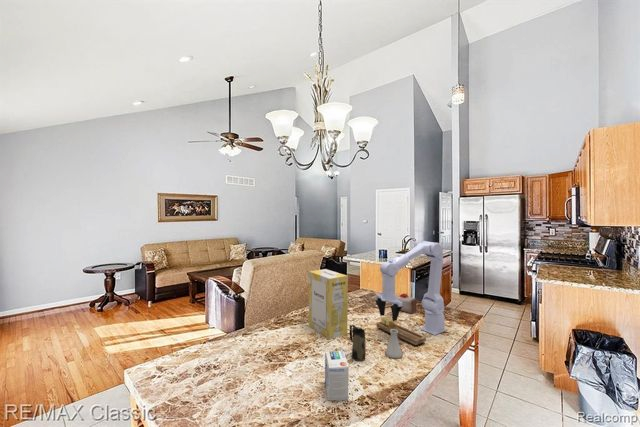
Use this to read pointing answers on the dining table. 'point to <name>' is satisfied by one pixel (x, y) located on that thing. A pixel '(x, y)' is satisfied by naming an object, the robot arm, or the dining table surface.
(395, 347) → the flask
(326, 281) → the pasta box
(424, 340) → the brown rectangular tray
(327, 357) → the light bulb box
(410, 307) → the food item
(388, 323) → the yellow block
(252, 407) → the dining table surface
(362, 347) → the mug
